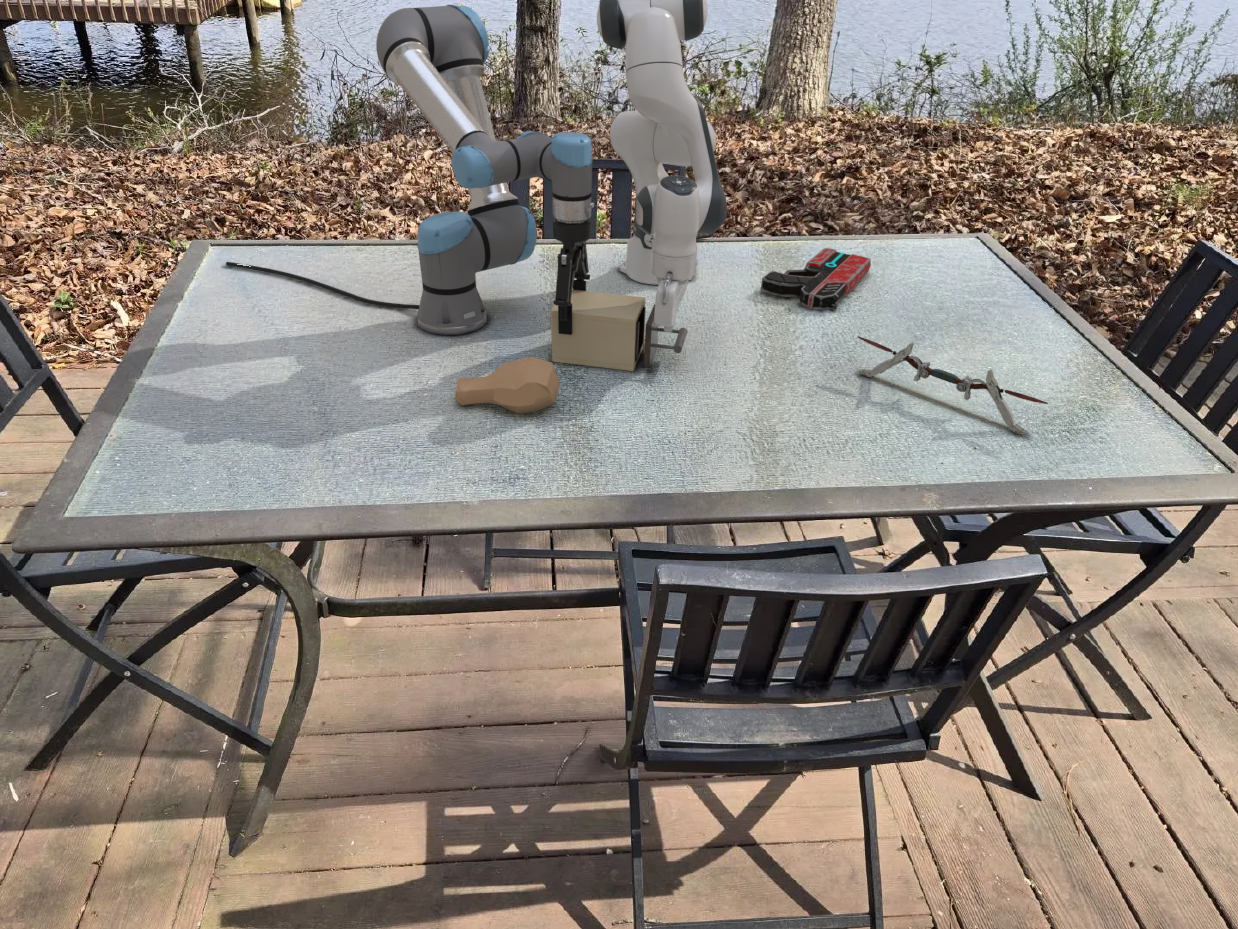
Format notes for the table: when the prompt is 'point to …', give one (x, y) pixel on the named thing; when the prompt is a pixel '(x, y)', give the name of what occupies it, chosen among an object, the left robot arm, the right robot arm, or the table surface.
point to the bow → (962, 385)
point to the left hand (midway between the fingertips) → (572, 321)
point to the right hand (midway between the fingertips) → (669, 329)
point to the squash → (513, 386)
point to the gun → (819, 279)
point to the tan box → (598, 331)
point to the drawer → (653, 337)
